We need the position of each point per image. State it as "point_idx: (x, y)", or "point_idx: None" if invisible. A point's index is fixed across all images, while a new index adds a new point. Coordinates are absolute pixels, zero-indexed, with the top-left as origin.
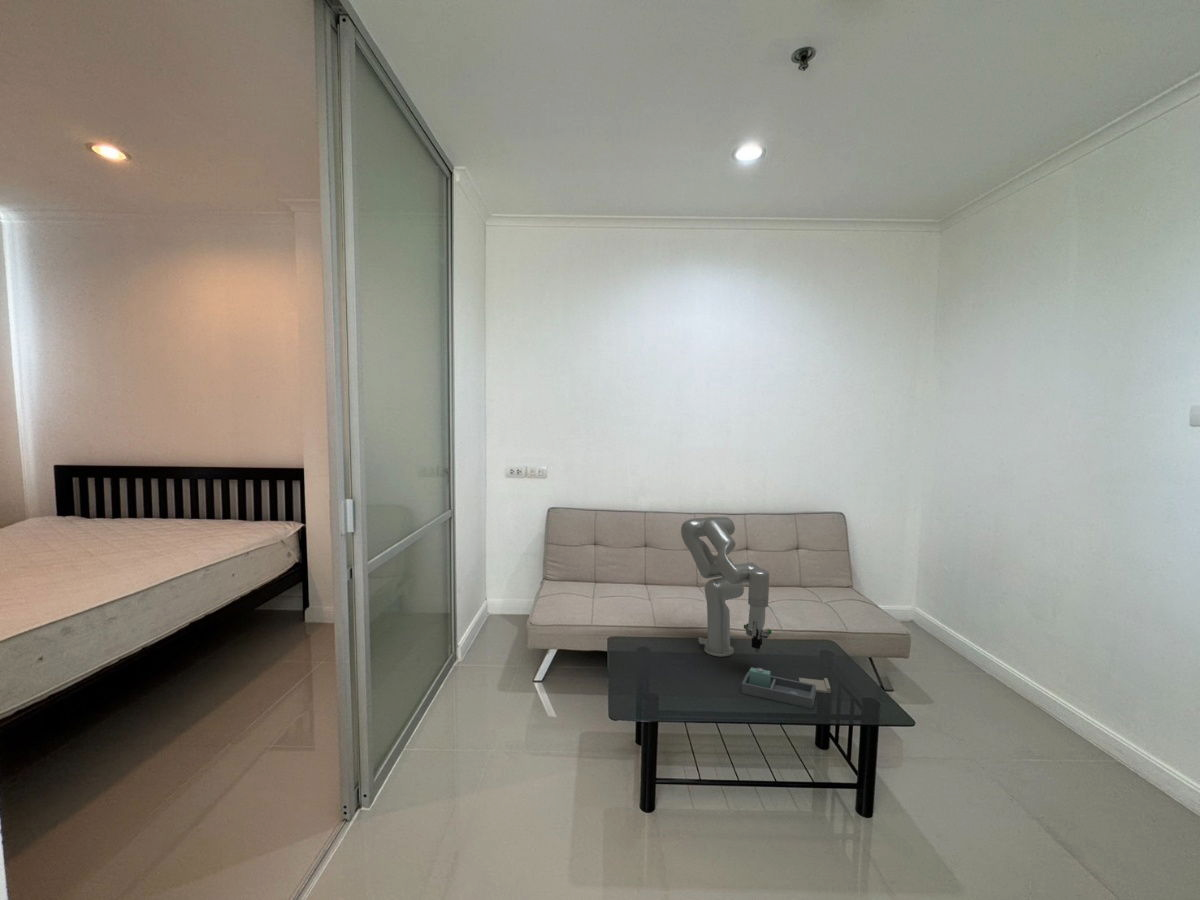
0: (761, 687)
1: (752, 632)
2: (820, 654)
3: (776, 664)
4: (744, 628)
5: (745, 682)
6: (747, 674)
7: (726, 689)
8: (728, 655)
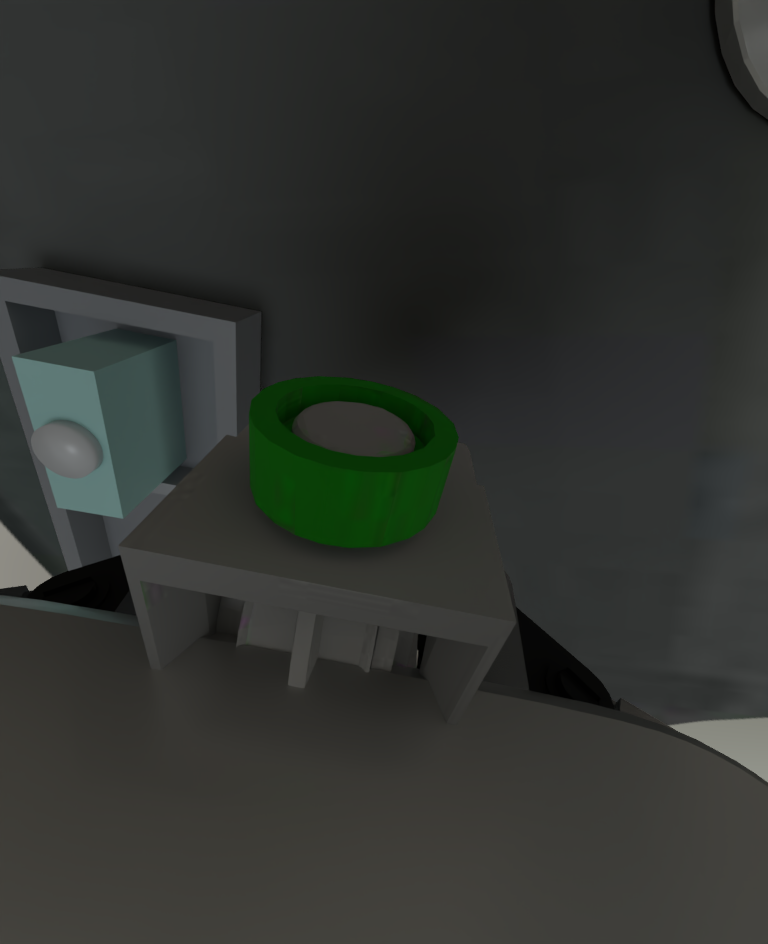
0: (28, 423)
1: (122, 608)
2: (684, 676)
3: (551, 494)
4: (303, 403)
5: (26, 304)
6: (167, 318)
7: (13, 122)
8: (730, 69)
